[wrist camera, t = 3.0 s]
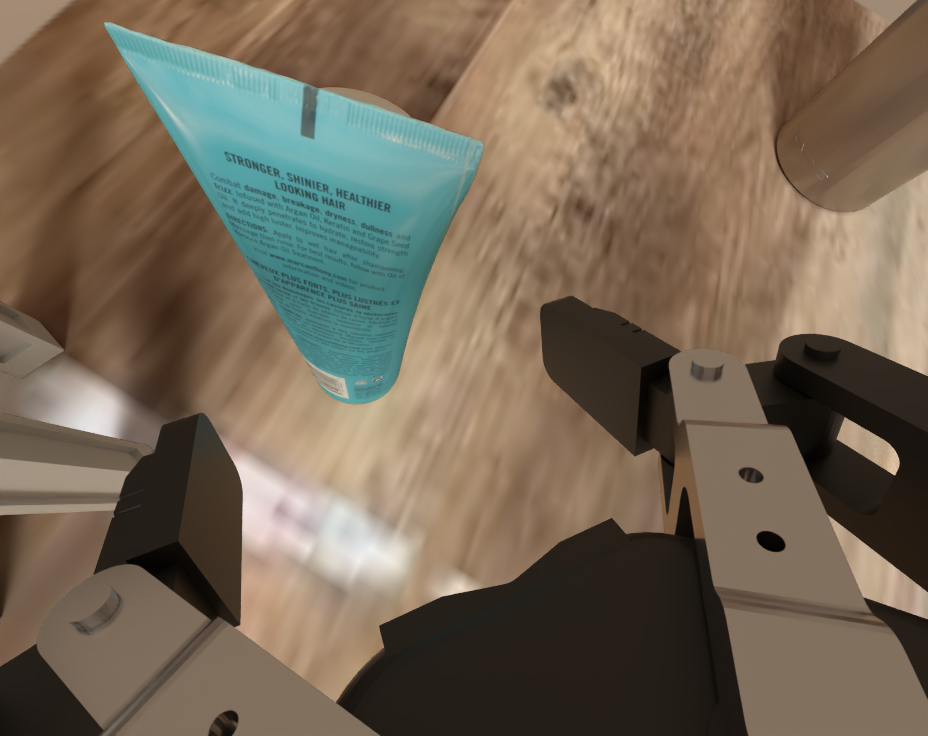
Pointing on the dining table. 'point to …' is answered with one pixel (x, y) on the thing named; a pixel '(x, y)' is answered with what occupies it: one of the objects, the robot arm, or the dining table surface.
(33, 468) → the stool
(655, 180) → the dining table surface
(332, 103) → the tube
